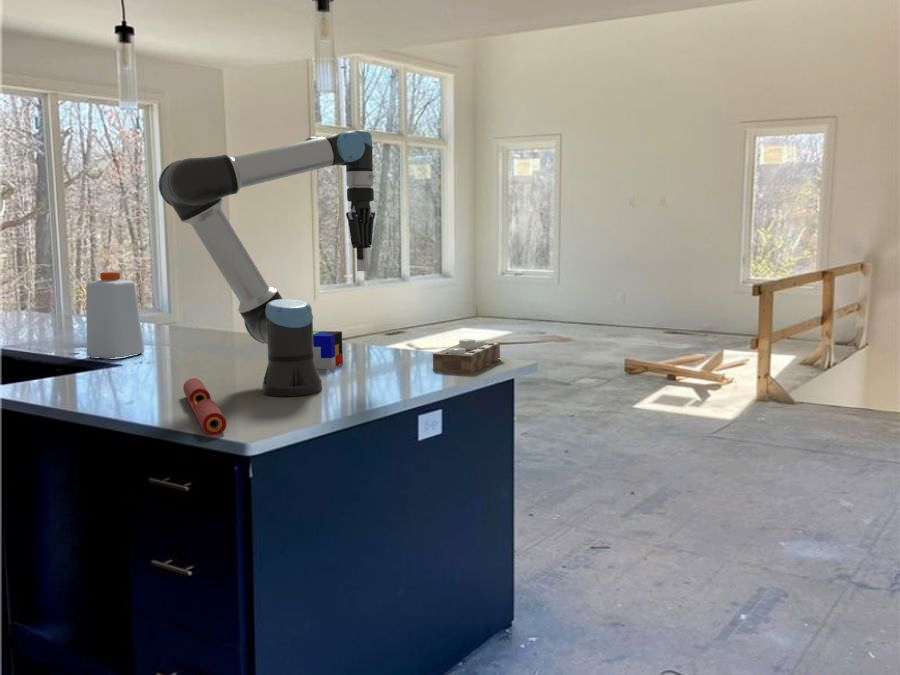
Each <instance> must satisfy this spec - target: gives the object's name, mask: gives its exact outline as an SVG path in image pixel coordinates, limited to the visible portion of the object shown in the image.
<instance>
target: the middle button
mask: <svg viewBox="0 0 900 675" xmlns="http://www.w3.org/2000/svg"><path fill="white" fill-rule="evenodd" d="M476 340H477V339H473V338H471V339H470V338H469V339H468V338H467V339H465V338H464V339H460V340H459V341H458V344H459V348H465V349H466V350H469V351H472V350H474V349H476Z"/></svg>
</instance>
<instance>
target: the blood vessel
mask: <svg viewBox="0 0 900 675" xmlns="http://www.w3.org/2000/svg"><path fill="white" fill-rule="evenodd" d="M182 388H183V392H184V395H185V397H186V399H187V401H188V403H189V405H190V407H191V409H192V410H193V412H194V415H195V417H196V419H197V421H198V423H199V424H200V426H201V429H202V431H203V432H204V434H206V435H208V436H213V435H222V434H223V433H224V432H225V430H226V428H227V423H228V422H227V419H226V417H225V415H224V414H223V413H222V411H221V410H220V408H219V406H218V404H217V403H216V402H215V401H214V400H212V398H211V394H210V393H209V390H208V389H207V387H206V386H205V384H204V383H203V382H202V380H201V379H199V378H195V377H194V378H189V379H188V380H186V381H185V382H184V384H183V387H182Z"/></svg>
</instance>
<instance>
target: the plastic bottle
mask: <svg viewBox="0 0 900 675" xmlns="http://www.w3.org/2000/svg"><path fill="white" fill-rule="evenodd" d="M99 276H100V277H99V278H100V279H99V280H94V281H91V282H90V281H89V282H88V283H87V284H86V288H85V290H86V297H85V298H86V302H85V304H86V306H85V307H86V308H85V309H86V310H85V311H86V356H87V357H88V356H90V357H99V358H115V357H124V356H129V355H134V354H140V353H143V354H144V352H145V346H144V339H143V338H144V337H143V331H142V325H141V324H142V323H141V319H140V309H139V304H138V297H137V289H136V284H135V282H134V281H133V280H130V279H121V273H120V272H119V271H104V272H103V271H102V272H100V274H99Z"/></svg>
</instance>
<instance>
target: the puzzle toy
mask: <svg viewBox="0 0 900 675" xmlns="http://www.w3.org/2000/svg"><path fill="white" fill-rule="evenodd" d="M313 349H314V362H315V365H316V368H317V370H319V369H321V370H333V369H334V368H337V367H338V366H340V365H342V364H343V363H344V361H343V360H344V356H343V355H344V354H343V353H344V352H343V332H342V331H337V330H336V331H333V330H331V331H326V330H325V331H324V330H313ZM341 363H342V364H341ZM339 364H340V365H339ZM336 366H337V367H336Z"/></svg>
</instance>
